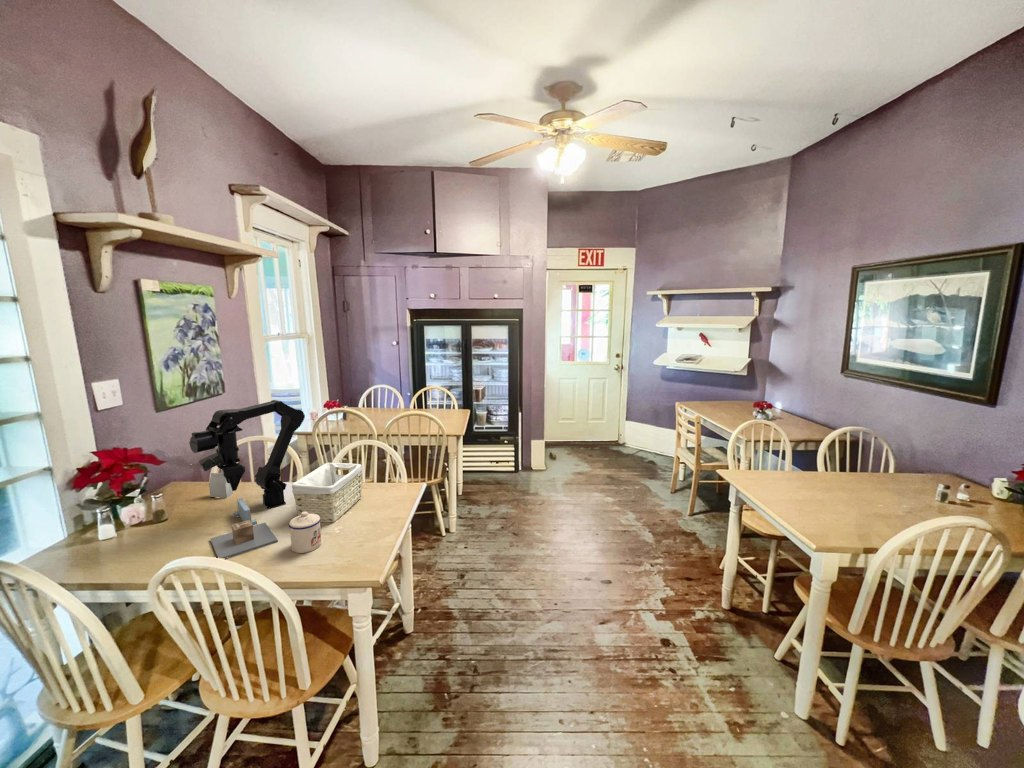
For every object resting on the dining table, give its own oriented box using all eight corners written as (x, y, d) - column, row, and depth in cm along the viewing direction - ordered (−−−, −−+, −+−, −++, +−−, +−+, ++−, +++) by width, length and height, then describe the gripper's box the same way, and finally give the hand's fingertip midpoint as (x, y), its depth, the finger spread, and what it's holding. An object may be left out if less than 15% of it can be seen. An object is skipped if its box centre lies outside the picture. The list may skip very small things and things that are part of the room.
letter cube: (250, 533, 139) (249, 519, 138) (254, 539, 135) (252, 524, 135) (233, 538, 136) (231, 524, 135) (236, 544, 132) (234, 529, 131)
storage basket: (334, 525, 147) (331, 486, 144) (292, 522, 148) (288, 484, 146) (365, 497, 170) (363, 463, 168) (328, 495, 172) (326, 461, 170)
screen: (248, 511, 157) (247, 496, 156) (257, 523, 147) (255, 508, 146) (233, 515, 153) (231, 500, 152) (240, 528, 144) (239, 512, 143)
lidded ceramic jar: (317, 552, 129) (314, 518, 127) (286, 555, 128) (283, 520, 126) (328, 533, 141) (326, 501, 139) (300, 535, 140) (297, 503, 138)
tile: (265, 524, 147) (265, 522, 147) (277, 541, 135) (277, 539, 135) (210, 540, 136) (210, 538, 136) (219, 561, 125) (218, 558, 124)
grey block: (226, 498, 168) (224, 474, 167) (210, 498, 168) (207, 474, 167) (232, 494, 172) (230, 471, 170) (216, 494, 172) (214, 471, 170)
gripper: (195, 444, 148) (200, 485, 150) (203, 456, 134) (208, 501, 137) (232, 438, 155) (236, 477, 157) (243, 449, 142) (247, 492, 144)
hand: (231, 486), depth 149 cm, fingers open, 9 cm apart
